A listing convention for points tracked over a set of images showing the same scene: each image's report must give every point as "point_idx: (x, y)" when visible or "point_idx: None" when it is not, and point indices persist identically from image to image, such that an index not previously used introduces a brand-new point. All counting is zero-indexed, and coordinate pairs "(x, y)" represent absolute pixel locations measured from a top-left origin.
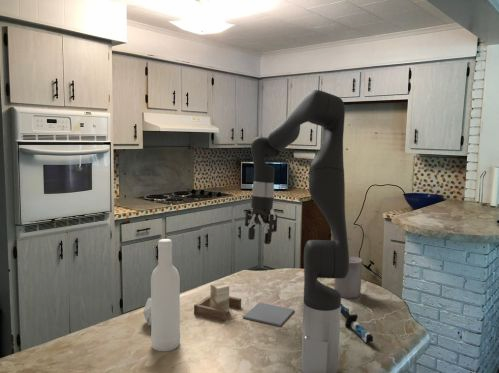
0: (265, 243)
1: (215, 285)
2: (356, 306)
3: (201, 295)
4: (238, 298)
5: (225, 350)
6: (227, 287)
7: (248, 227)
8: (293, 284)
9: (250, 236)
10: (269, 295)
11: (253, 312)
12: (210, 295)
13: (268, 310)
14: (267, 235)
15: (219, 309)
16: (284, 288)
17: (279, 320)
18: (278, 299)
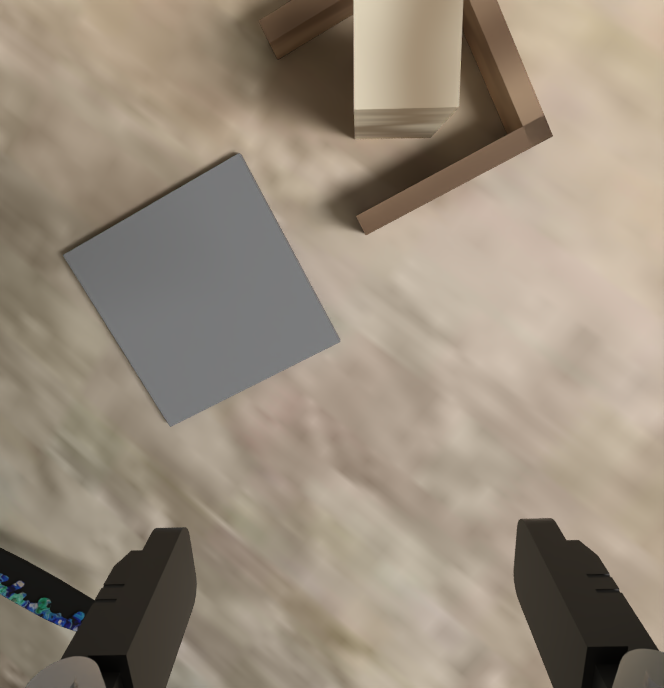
0: (161, 528)
1: (422, 14)
2: None
3: (657, 130)
4: (378, 222)
5: None
6: (354, 94)
7: (656, 664)
8: (443, 645)
9: (534, 555)
10: (401, 455)
11: (250, 232)
12: (528, 95)
13: (228, 314)
14: (96, 638)
15: (303, 18)
16: (429, 575)
17: (104, 282)
18: (331, 457)
